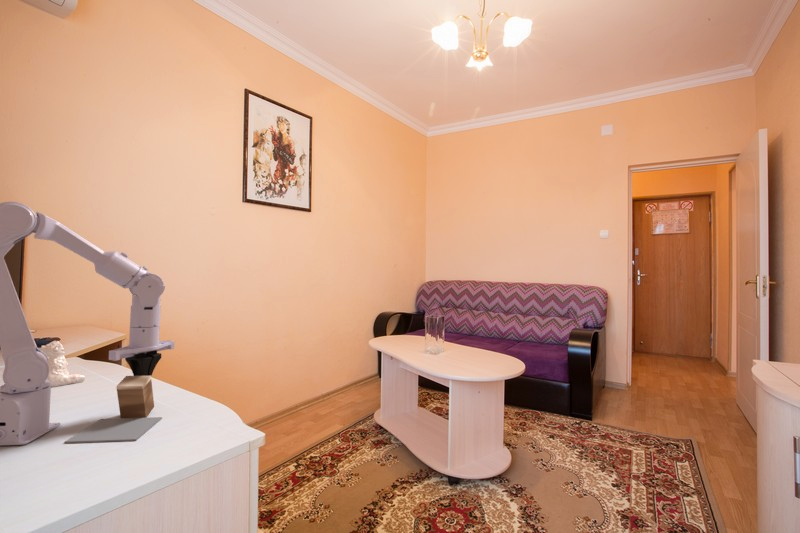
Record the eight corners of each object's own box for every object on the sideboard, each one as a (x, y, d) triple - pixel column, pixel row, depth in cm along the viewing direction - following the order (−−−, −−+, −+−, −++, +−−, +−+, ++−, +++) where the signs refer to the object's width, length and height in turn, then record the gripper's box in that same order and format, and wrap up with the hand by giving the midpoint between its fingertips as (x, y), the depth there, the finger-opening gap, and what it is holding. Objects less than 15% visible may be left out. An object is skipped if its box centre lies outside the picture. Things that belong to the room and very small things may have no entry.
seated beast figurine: (86, 381, 110) (88, 339, 111) (54, 390, 102) (57, 344, 102) (59, 378, 112) (61, 337, 112) (25, 387, 104) (27, 341, 104)
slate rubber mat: (136, 440, 74) (136, 439, 74) (64, 443, 72) (64, 441, 72) (162, 418, 85) (162, 417, 85) (100, 420, 83) (100, 418, 83)
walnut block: (146, 418, 85) (142, 385, 83) (120, 418, 84) (116, 386, 82) (154, 406, 89) (150, 375, 87) (130, 407, 88) (126, 375, 86)
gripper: (159, 321, 97) (157, 376, 96) (99, 328, 83) (96, 393, 83) (182, 323, 95) (179, 379, 94) (124, 331, 81) (121, 397, 81)
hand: (142, 386), depth 88 cm, fingers closed
